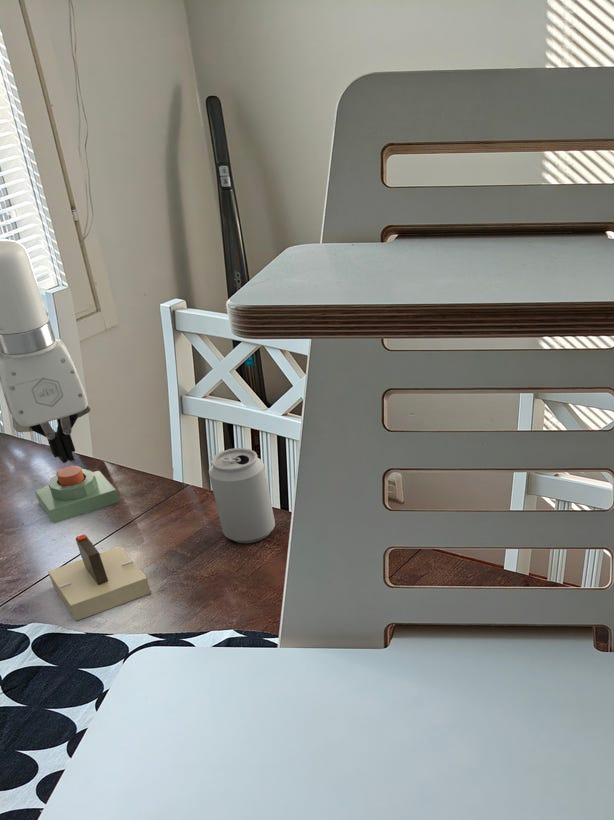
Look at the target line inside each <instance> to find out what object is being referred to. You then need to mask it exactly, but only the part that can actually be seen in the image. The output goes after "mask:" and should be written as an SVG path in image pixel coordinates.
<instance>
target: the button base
mask: <svg viewBox="0 0 614 820" xmlns="http://www.w3.org/2000/svg"><path fill="white" fill-rule="evenodd" d="M81 469H82V472H83V476H84V481H82V482H81V483H79V484H76V485H73V486H61V485H60V483H59V481H58V478H57V475H54V476H53V477H51V478H50V480H49V481H48V484H47V486H43V487H41V488H37V489H35V490H34V494H35V496H36V499H37V503H39V505H40V506H41V508H42V509H43V510H44V512H45V513H46V515H47V516H48V518H49V519H50V520H51V522H52V523H53V524H57V523H60V522H63V521H66V520H70V519H72V518H76V517H78V516H82V515H85V514H87V513H90V512H94V511H97V510H100V509H103V508H106V507H108V506H112V505H115V504H118V503H120V498H119V495H118V492H117V490H116V488H115V486H113V484H111V482H110V481H109V480H108V479H107V478H106V476H104V474H102V472H101V470H96V471H92V470H89V469H84V468H81Z"/></svg>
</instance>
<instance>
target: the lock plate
mask: <svg viewBox="0 0 614 820" xmlns="http://www.w3.org/2000/svg"><path fill="white" fill-rule="evenodd" d="M99 554H100V557H101V560H102V563H103V566H104V569H105V572H106V575H107V578H108V582H105V583H102V584H99V585H98V584H97V583H96V581H95V580H94V579H93V577H92V576H91V574H90V573H89V572H88V570H87V569H86V567H85V565H84V562H83V559H82V558H81V559H79V560H77V561H74V562H71V563H68V564H65V565H62V566H59V567H57V568H54V569H51V570H48V571H47V573H48V576H49V578H50V581H51V584H52V586H53V589H54V590H55V592H56V593H57V594H58V597H60V599H61V601H62V602H63V603H64V605H65V607H66V608H67V610H68V611H69V613H70V615H72V617H73V619H74V620H75V622H78V621H80V620H83V619H86V618H88V617H91V616H94V615H96V614H99V613H102V612H104V611H107V610H110V609H113V608H115V607H118V606H121V605H125V604H126V603H130V602H131V601H134V600H138V599H139V598H142V597H145V596H147V595H150V594H152V591H151V587H150V584H149V581H148V578H147V576H146V575H145V574H144V572H142V570H141V569H140V568H139V566H138V565H137V564H136V562H135V561H134V560H133V559H132V558H131V557H130V555H129V554H128V552H126V550H125V549H124V548H123V546H122V545H120V546H117V547H115V548H112V549H111V548H110V549H109V550H105V551H103V552H99Z"/></svg>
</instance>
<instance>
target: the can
mask: <svg viewBox="0 0 614 820" xmlns="http://www.w3.org/2000/svg"><path fill="white" fill-rule="evenodd" d="M208 476H209V480H210V484H211V489H212V492H213V497H214V501H215V506H216V510H217V514H218V517H219V518H218V519H219V523H220V527H221V530H222V531H221V532H222V534H223V535H224V537H226V538H227V539H229V540H231V541H233V542H234V543H235V542H236V543H240V544H251V543H256V542H259V541H262V540H263V539H266V538H267V537H268V536H269V535H270V533H271V532H272V531H273V530H274V528H275V526H276V520H275V515H274V509H273V505H272V499H271V494H270V490H269V484H268V480H267V474H266V469H265V464H264V462H263V460H262V459H261V458H259V457H258V454H257V452H256V451H255V450H252V449H251V448H246V447H235V448H229V449H226V450H222V451H220V452H218V453H216V454H215V455H214V456H213V457H212V458H211V466H210V467H209V469H208Z"/></svg>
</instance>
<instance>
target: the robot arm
mask: <svg viewBox="0 0 614 820" xmlns="http://www.w3.org/2000/svg"><path fill="white" fill-rule="evenodd" d="M0 386H1V389H2V393H3V396H4V400H5V403H6V406H7V408H8V411H9V413H10V415H11V417H12V427H13V430H15V431H16V433H30V432H35V433H37V434H39V435H41V436H43V437H45V438H46V439H47V442H48V445H49V448H50V451H51V453H52V456H53V457H54V458H58V459H59V460H60V461H61V462H62V463H63V464H66V463H68V461H69V462H73V461H75V458H74V455H73V453H75V452H76V449H75V448H76V447H75V445H74V442H73V439H72V435H71V434H72V430H73V427H74V426H75V424H76V422H77V420H78V418H81V417H83V416H85V415H87V414H89V413H90V412H91V407H90V406H89V403H88V398H87V394H86V392H85V389H84V387H83V383H82V381H81V378H80V375H79V373H78V370H77V368H76V366H75V363H74V361H73V359H72V356H71V355H70V353H69V350H68V348H67V346H66V345H65V343H64V342H63V340H62V339H60V338H58V337H56V336H55V333H54V330H53V327H52V324H51V320H50V317H49V314H48V311H47V308H46V305H45V302H44V299H43V296H42V293H41V289H40V285H39V283H38V279H37V277H36V274H35V270H34V268H33V264H32V260H31V258H30V255H29V252H28V250H27V249H26V247H25V246H24V245H23V244H22V243H21V242H19V241H16V240H12V239H0ZM55 420H56V425H57V427H56V431H55V430H54V429H53V427H52V426H51V424H50V422H53V421H55Z"/></svg>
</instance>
